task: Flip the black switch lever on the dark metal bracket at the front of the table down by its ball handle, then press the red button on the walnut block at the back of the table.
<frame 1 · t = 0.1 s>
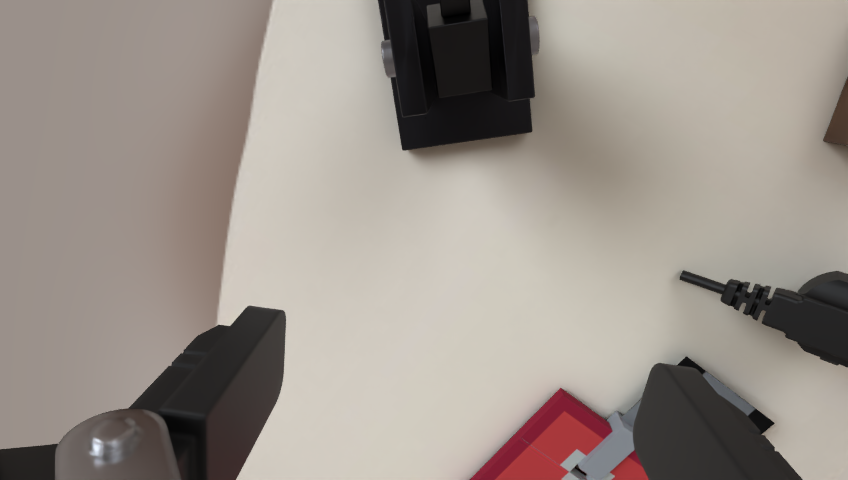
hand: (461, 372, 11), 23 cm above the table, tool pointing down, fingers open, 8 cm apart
switch bracket: (455, 56, 30), on the table
power plug: (763, 287, 34), on the table
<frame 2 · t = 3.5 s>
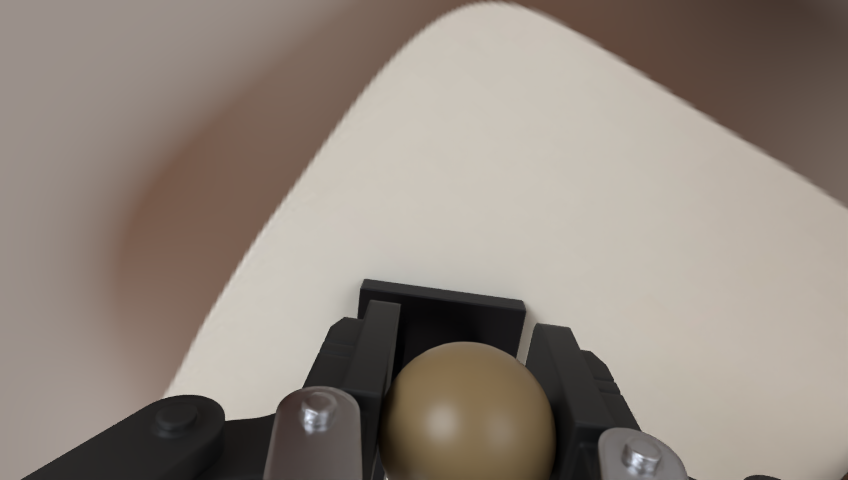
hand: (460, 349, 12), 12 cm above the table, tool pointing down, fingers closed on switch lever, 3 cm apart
switch bracket: (430, 374, 26), on the table
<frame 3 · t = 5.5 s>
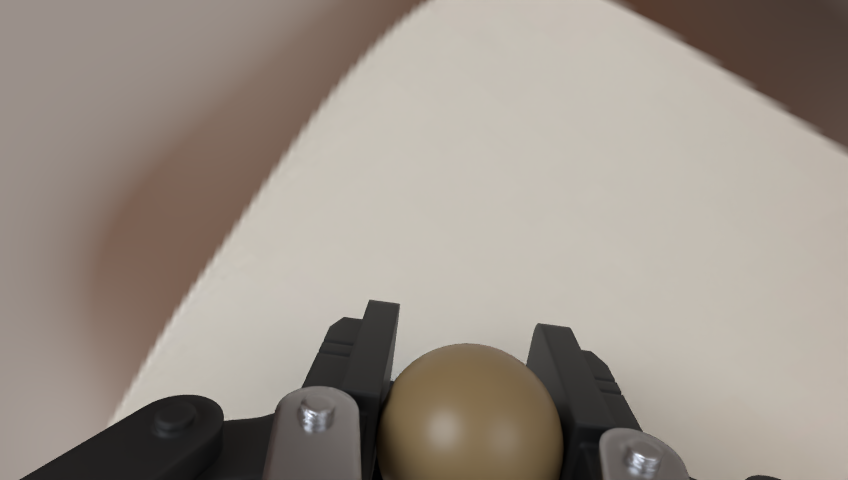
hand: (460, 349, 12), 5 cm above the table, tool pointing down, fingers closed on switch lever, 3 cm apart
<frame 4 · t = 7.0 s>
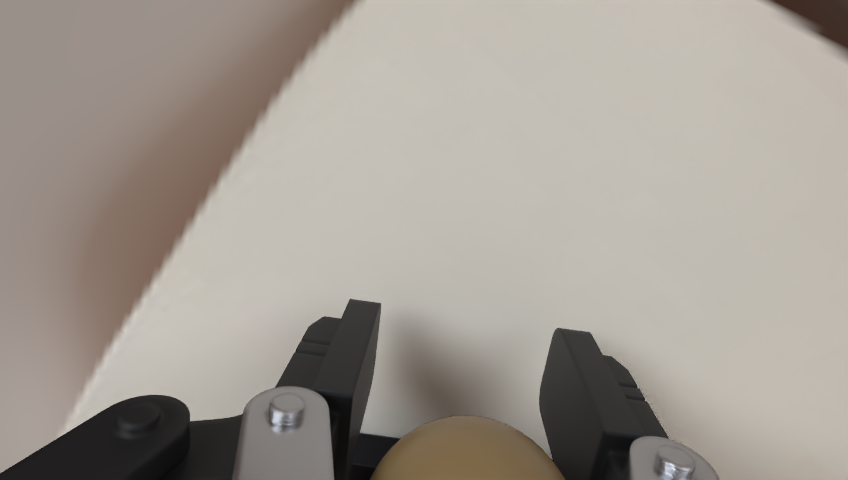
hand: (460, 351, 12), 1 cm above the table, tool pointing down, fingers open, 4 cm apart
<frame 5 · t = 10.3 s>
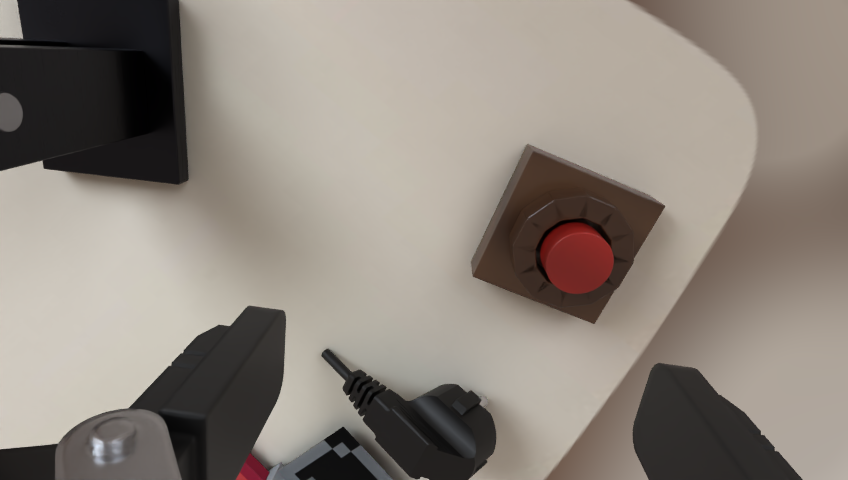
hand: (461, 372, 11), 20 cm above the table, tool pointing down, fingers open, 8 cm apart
button: (575, 257, 26), point 4 cm above the table, slide at 0.1 cm
button block: (557, 230, 30), on the table
switch bracket: (114, 86, 28), on the table
power plug: (406, 381, 35), on the table
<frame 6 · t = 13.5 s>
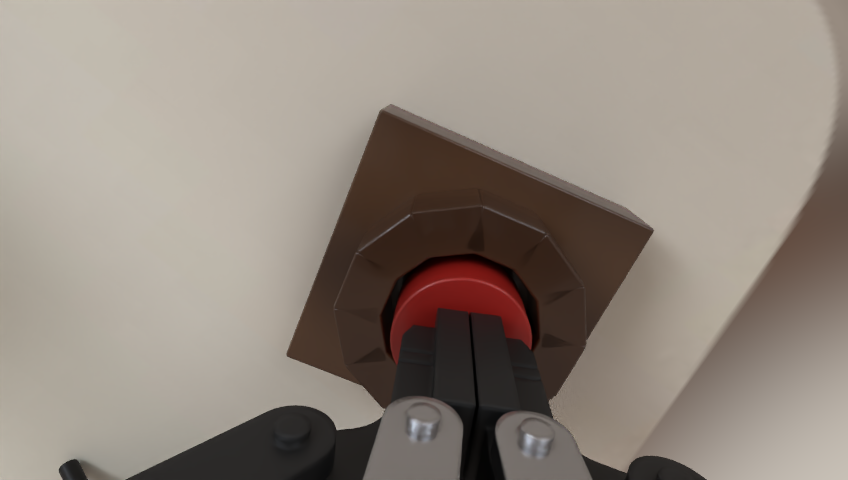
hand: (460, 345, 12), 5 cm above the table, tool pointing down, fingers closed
button: (459, 326, 13), point 4 cm above the table, slide at -0.5 cm, touching gripper
button block: (457, 268, 16), on the table
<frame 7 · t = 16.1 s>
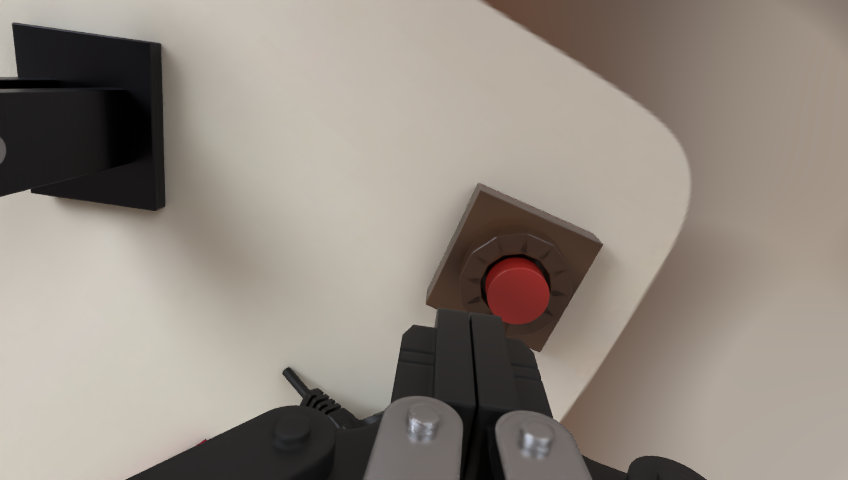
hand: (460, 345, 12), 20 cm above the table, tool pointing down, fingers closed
button: (516, 290, 28), point 4 cm above the table, slide at 0.1 cm
button block: (507, 262, 32), on the table
switch bracket: (100, 120, 31), on the table
power plug: (363, 401, 36), on the table
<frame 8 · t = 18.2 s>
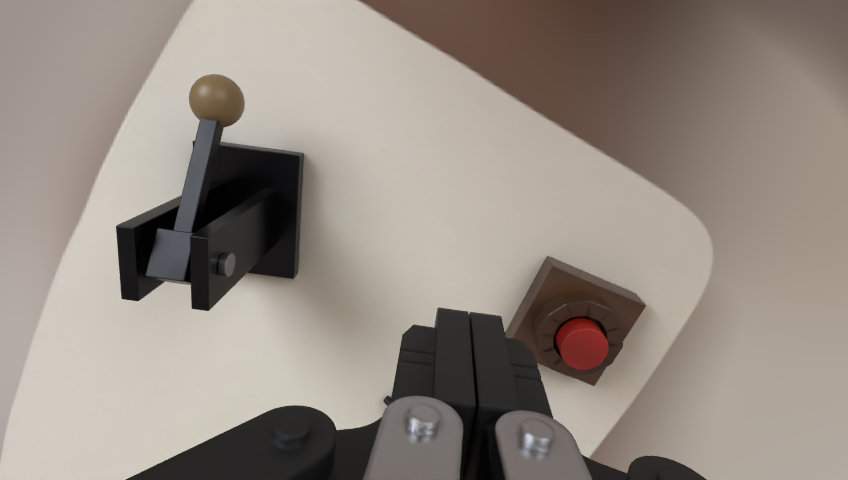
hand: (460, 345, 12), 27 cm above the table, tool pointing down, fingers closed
switch lever: (199, 175, 30), point 8 cm above the table, hinge at -30.5°
button: (581, 343, 37), point 4 cm above the table, slide at 0.1 cm
button block: (568, 315, 41), on the table
switch bracket: (251, 208, 39), on the table
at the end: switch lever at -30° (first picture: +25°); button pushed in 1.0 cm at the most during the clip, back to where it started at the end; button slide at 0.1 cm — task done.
